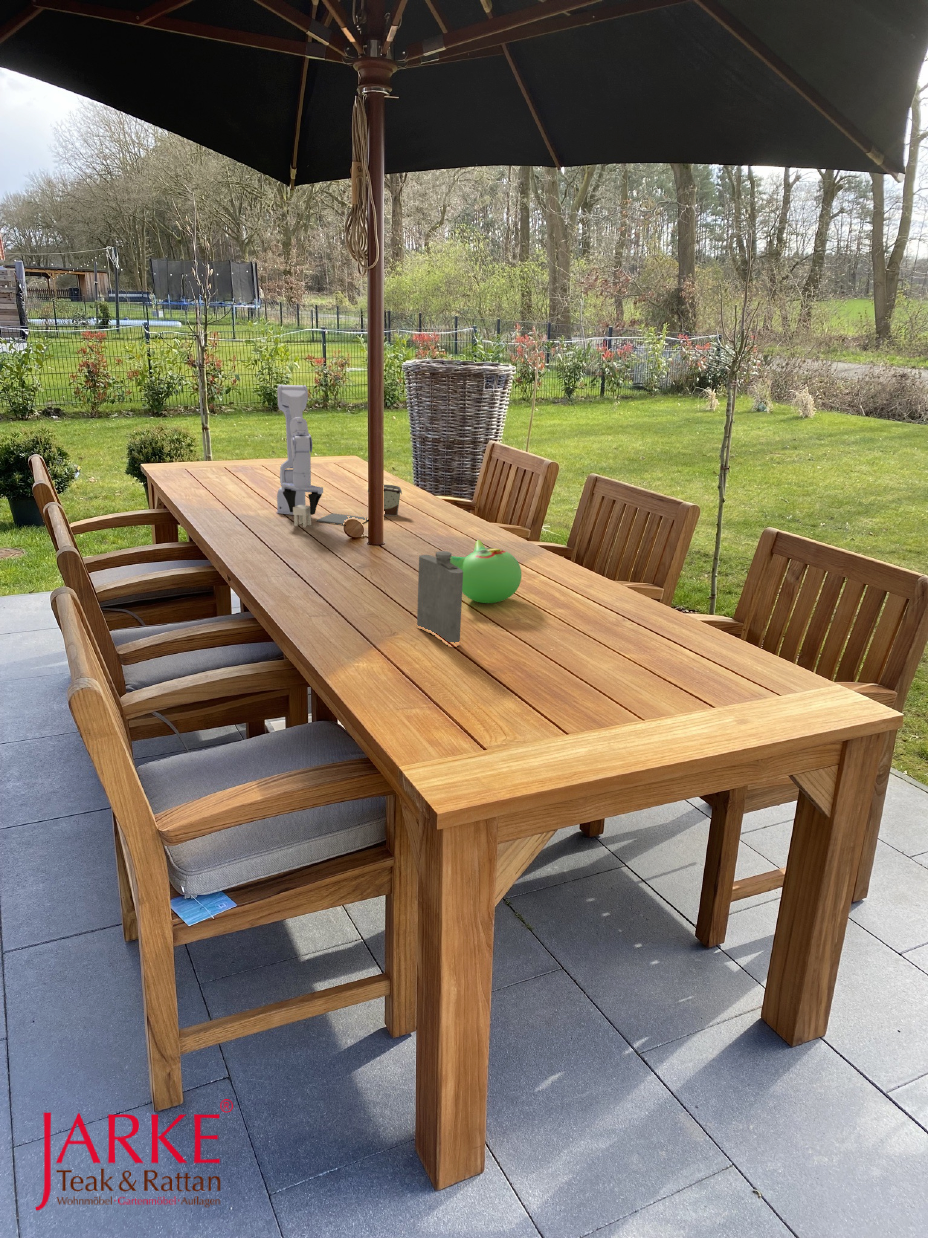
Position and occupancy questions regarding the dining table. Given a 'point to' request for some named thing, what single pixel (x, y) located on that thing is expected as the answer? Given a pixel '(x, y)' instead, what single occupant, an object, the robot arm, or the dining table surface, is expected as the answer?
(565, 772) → the dining table surface
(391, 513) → the food container
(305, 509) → the cream block with pegs
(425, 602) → the hip flask
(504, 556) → the toy bird
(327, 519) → the mat
